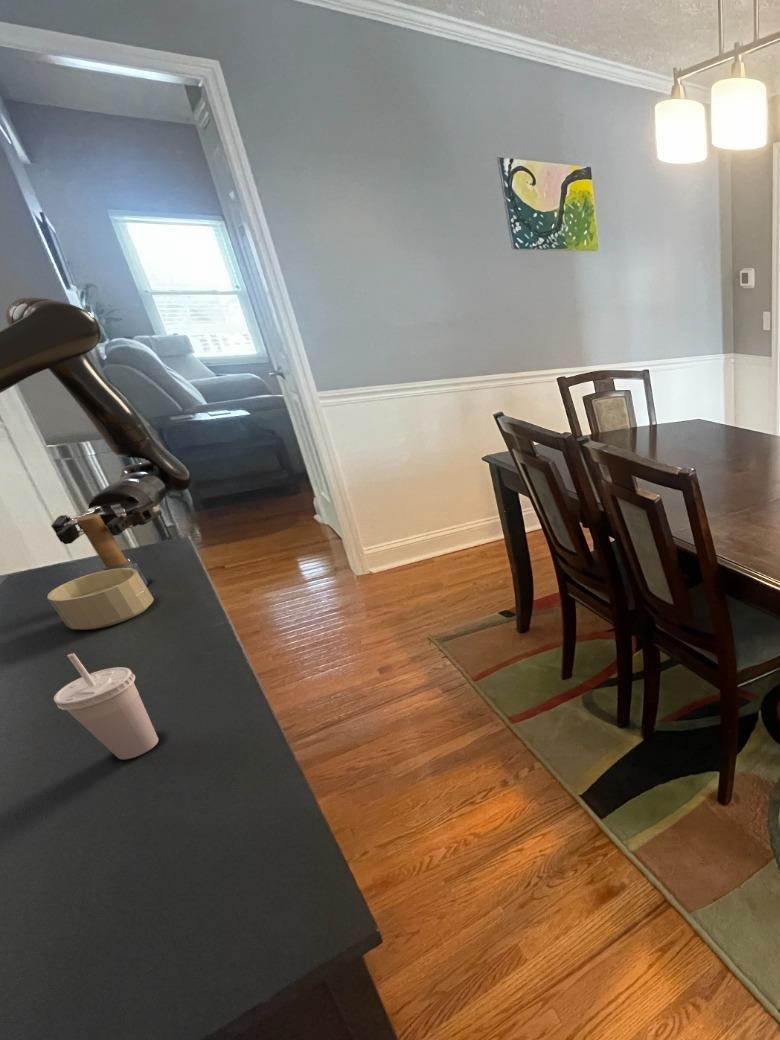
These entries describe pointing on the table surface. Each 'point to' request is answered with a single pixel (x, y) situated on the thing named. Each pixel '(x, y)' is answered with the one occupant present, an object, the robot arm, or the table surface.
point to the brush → (105, 544)
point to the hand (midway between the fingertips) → (88, 534)
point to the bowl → (101, 599)
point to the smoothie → (109, 709)
